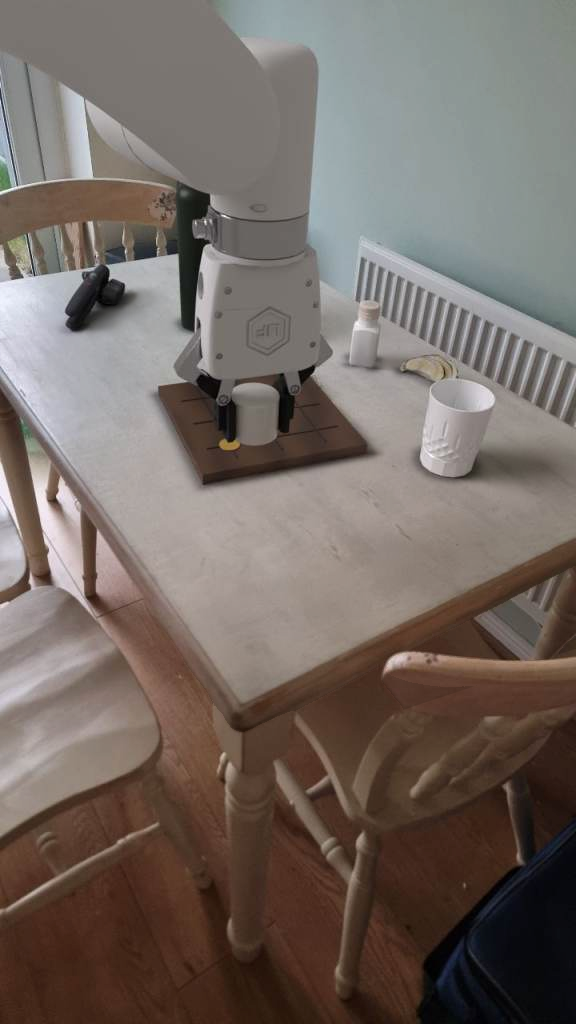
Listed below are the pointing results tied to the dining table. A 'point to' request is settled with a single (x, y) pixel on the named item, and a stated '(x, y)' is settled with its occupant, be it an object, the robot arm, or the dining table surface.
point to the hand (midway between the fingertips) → (253, 428)
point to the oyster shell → (431, 367)
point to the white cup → (455, 426)
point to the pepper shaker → (366, 335)
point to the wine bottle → (189, 248)
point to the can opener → (93, 295)
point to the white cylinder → (256, 413)
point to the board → (309, 441)
